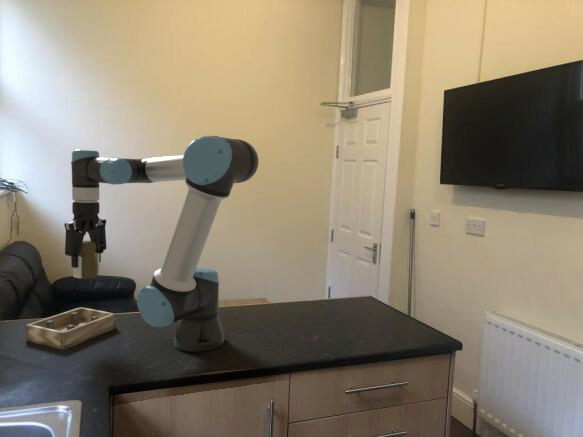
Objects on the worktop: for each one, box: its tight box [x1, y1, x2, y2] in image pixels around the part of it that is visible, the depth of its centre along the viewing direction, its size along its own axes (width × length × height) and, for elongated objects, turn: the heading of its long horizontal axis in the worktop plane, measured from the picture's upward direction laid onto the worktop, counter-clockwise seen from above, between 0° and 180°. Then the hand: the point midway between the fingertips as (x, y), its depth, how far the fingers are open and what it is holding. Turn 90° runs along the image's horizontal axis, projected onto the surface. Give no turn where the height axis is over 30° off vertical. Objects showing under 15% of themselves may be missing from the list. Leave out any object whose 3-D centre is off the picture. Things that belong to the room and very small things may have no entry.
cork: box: [79, 240, 99, 280], centre depth 136 cm, size 6×6×11 cm
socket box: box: [25, 306, 117, 351], centre depth 141 cm, size 16×20×5 cm
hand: (86, 275), depth 137 cm, fingers closed on cork, 6 cm apart
